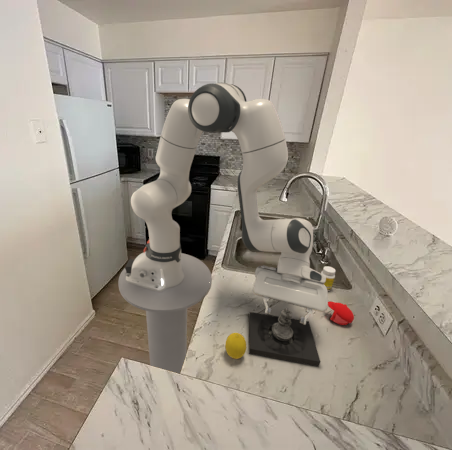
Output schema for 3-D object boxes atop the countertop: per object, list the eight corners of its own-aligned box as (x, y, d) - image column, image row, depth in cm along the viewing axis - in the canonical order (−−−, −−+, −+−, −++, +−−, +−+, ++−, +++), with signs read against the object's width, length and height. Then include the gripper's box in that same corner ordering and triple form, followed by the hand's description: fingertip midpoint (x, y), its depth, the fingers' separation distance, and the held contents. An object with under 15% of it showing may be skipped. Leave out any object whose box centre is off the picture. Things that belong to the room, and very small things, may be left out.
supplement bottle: (333, 291, 94) (339, 273, 90) (320, 291, 94) (326, 273, 90) (327, 283, 98) (332, 265, 95) (314, 283, 98) (320, 265, 95)
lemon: (240, 368, 66) (243, 347, 63) (220, 358, 69) (223, 337, 65) (247, 353, 71) (251, 332, 67) (229, 343, 73) (231, 323, 70)
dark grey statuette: (268, 343, 73) (275, 312, 68) (271, 328, 78) (277, 298, 73) (290, 350, 71) (299, 319, 66) (291, 334, 76) (299, 304, 71)
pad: (249, 353, 70) (250, 348, 70) (248, 316, 83) (249, 311, 82) (318, 366, 67) (320, 361, 66) (307, 325, 80) (309, 321, 79)
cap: (350, 316, 83) (355, 302, 81) (352, 330, 78) (358, 315, 76) (323, 309, 86) (327, 295, 83) (323, 321, 81) (328, 307, 78)
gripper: (256, 261, 76) (247, 307, 73) (332, 278, 70) (326, 330, 66) (257, 265, 82) (248, 309, 78) (327, 281, 75) (321, 329, 71)
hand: (284, 319), depth 72 cm, fingers open, 8 cm apart
